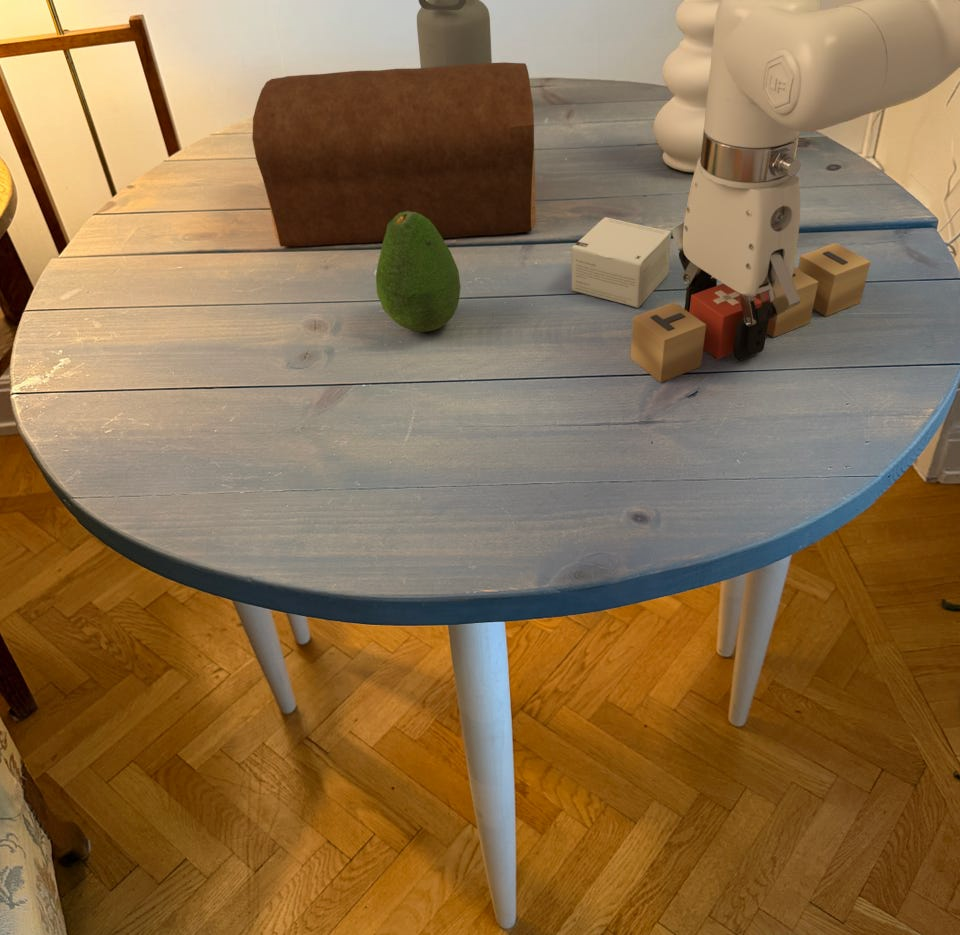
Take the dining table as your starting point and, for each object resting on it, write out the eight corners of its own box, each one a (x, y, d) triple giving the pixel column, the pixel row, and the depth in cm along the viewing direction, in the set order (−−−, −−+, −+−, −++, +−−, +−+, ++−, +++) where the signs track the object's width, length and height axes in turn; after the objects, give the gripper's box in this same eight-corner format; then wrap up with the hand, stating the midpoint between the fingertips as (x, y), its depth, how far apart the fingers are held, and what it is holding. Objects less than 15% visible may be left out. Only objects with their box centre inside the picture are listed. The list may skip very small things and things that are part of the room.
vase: (734, 145, 122) (762, -72, 105) (743, 181, 113) (775, -47, 97) (649, 145, 123) (664, -68, 106) (652, 181, 115) (669, -44, 98)
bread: (295, 186, 119) (270, 55, 109) (528, 172, 119) (525, 39, 108) (274, 255, 106) (243, 114, 95) (537, 240, 105) (534, 95, 94)
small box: (670, 274, 98) (674, 230, 94) (638, 310, 93) (641, 264, 90) (603, 258, 101) (604, 214, 98) (569, 291, 96) (569, 246, 93)
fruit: (409, 299, 97) (396, 190, 89) (476, 315, 94) (469, 204, 86) (368, 338, 92) (350, 227, 84) (438, 356, 89) (426, 242, 81)
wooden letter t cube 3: (701, 366, 85) (706, 323, 82) (660, 383, 84) (664, 339, 81) (670, 343, 88) (674, 300, 85) (630, 358, 87) (633, 315, 84)
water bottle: (484, 138, 128) (473, -96, 109) (416, 135, 130) (394, -95, 111) (500, 110, 135) (492, -114, 116) (436, 108, 137) (417, -113, 119)
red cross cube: (756, 344, 87) (763, 300, 84) (717, 359, 86) (723, 316, 83) (724, 322, 91) (730, 279, 87) (686, 336, 89) (691, 293, 86)
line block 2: (860, 303, 92) (871, 260, 89) (825, 317, 90) (835, 274, 87) (826, 283, 95) (835, 241, 92) (792, 296, 93) (800, 254, 90)
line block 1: (810, 323, 90) (819, 280, 86) (773, 337, 88) (781, 294, 85) (776, 302, 93) (784, 260, 90) (740, 316, 91) (747, 273, 88)
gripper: (862, 178, 71) (818, 368, 83) (715, 110, 83) (695, 286, 95) (787, 203, 69) (753, 396, 81) (646, 130, 81) (635, 308, 92)
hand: (722, 335), depth 88 cm, fingers open, 6 cm apart
